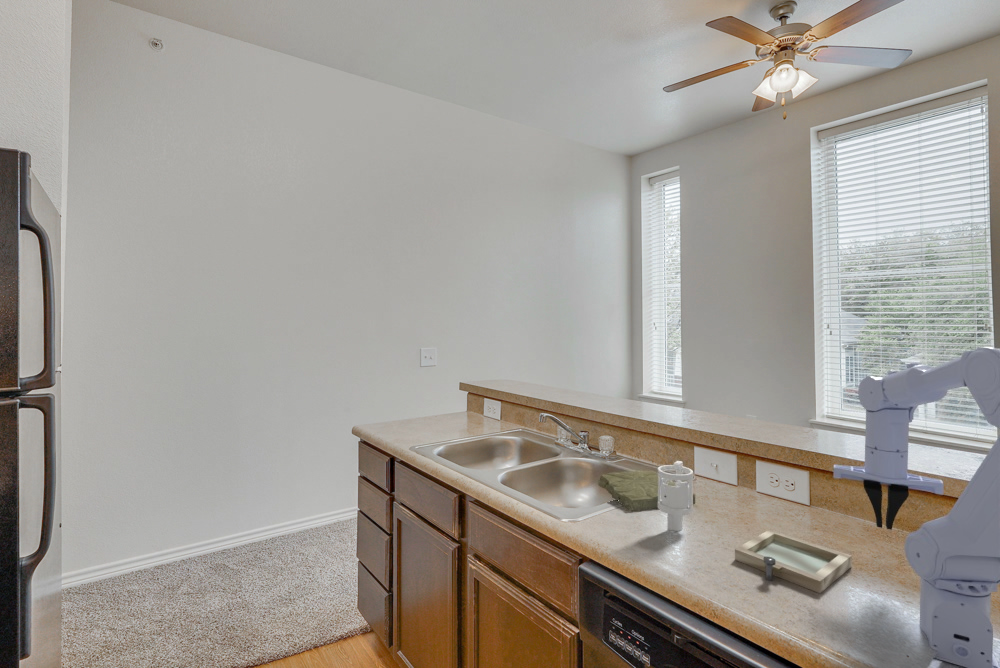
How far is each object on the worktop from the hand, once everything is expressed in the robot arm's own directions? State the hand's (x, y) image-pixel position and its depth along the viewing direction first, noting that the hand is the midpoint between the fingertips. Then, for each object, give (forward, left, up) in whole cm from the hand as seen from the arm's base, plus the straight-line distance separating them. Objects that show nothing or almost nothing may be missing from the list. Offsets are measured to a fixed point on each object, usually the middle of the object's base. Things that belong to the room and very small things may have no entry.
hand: (883, 526), depth 83 cm
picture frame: (-3, +13, -9) cm, 16 cm away
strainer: (+1, +35, -11) cm, 37 cm away
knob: (-11, +16, -10) cm, 22 cm away
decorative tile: (+21, +49, -11) cm, 54 cm away
